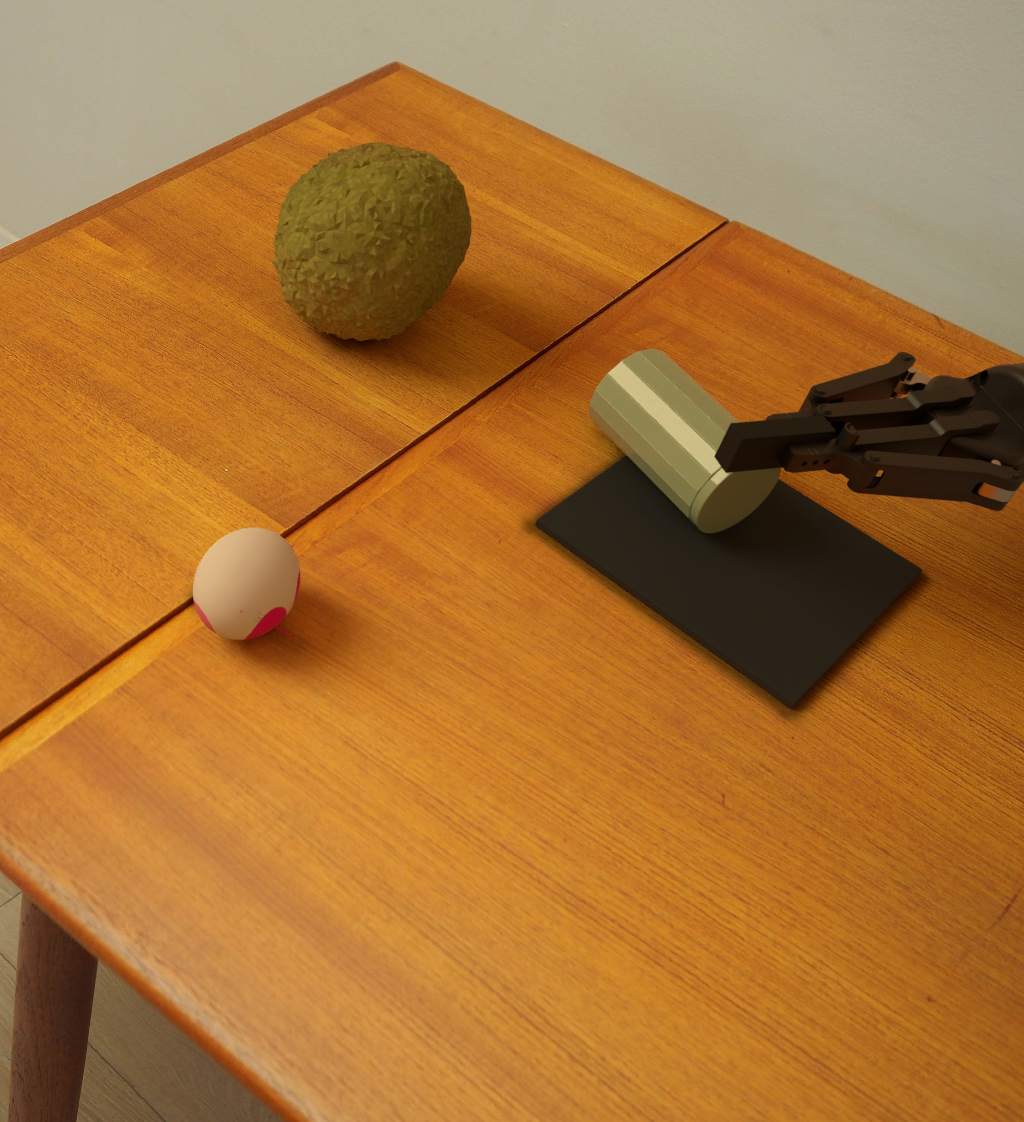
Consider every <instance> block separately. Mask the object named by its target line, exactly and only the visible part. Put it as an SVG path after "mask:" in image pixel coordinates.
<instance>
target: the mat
mask: <svg viewBox="0 0 1024 1122" xmlns="http://www.w3.org/2000/svg"><path fill="white" fill-rule="evenodd" d="M534 525H535V527H537V528H538V529H540V531H542V532H544V533H545V534H547V535H548V536H549V537H551V538H552V539H554V540H555V541H557V543H559V544H561V545H562V546H563V547H565V548H566V549H567V550H569V551H570V552H571V553H573V554H575V555H576V556H577V557H579V558H580V559H581V560H583V561H584V562H586V563H587V564H588V565H590V566H591V567H592V568H594V569H595V570H597V571H598V572H600V573H601V574H603V575H604V576H605V577H606V578H608V579H609V580H611V581H612V582H614V583H615V584H616V585H618V587H621V588H622V589H623V590H624V591H626V592H627V593H629V594H630V595H632V596H633V597H635V598H636V599H637V600H639V601H640V602H641V603H643V604H644V605H646V606H647V607H648V608H649V609H651V610H653V611H654V612H655V613H656V614H658V615H660V616H661V617H662V618H663V619H665V620H667V622H669V623H671V624H672V625H673V626H675V627H676V628H678V629H679V630H680V631H682V632H683V633H685V634H686V635H687V636H689V637H690V638H692V639H693V640H695V641H696V642H697V643H699V644H700V645H701V646H703V647H704V648H705V649H707V650H708V651H710V652H711V653H712V654H714V655H715V656H717V657H718V658H720V659H721V660H722V661H724V662H725V663H727V664H728V665H729V666H731V667H732V668H734V669H735V670H736V671H737V672H739V673H741V675H743V676H745V677H746V678H748V679H749V680H750V681H751V682H753V683H755V684H756V685H757V686H759V687H760V688H761V689H763V690H764V691H765V692H766V693H768V694H770V695H771V696H772V697H774V698H776V699H777V700H778V701H779V702H781V703H782V704H784V705H785V706H787V707H788V708H789V709H793V708H794V707H795V706H796V705H797V704H798V703H799V702H800V700H802V699H803V698H804V696H805V695H806V694H808V692H809V691H810V690H811V689H812V688H813V687H814V686H815V685H816V684H817V683H818V682H819V681H820V680H821V679H822V677H824V676H825V674H826V673H827V672H828V671H830V669H831V668H832V667H833V666H834V665H835V664H836V663H837V662H838V661H839V660H840V659H841V658H842V656H844V655H845V653H846V652H847V651H848V650H849V649H851V647H852V646H853V645H855V643H856V642H857V641H858V640H859V639H860V638H861V637H862V636H863V635H864V634H865V632H866V631H867V630H868V629H869V628H870V627H871V626H873V624H874V623H875V622H876V621H877V620H878V619H879V618H880V617H881V616H882V615H883V614H884V613H885V612H886V611H887V609H889V607H891V605H892V604H893V603H894V602H896V600H897V599H898V598H899V597H900V596H901V594H903V593H904V592H905V591H906V589H907V588H908V587H910V585H911V584H912V583H913V582H914V581H915V580H916V579H917V578H918V577H919V576H920V575H921V573H922V572H923V569H922V568H921V567H919V566H918V565H917V564H915V563H913V562H911V561H910V560H908V559H907V558H905V557H904V556H901V555H900V554H899V553H897V552H896V551H894V550H892V549H891V548H889V547H887V546H886V545H885V544H883V543H881V542H880V541H878V540H876V539H875V538H874V537H872V536H870V535H868V534H867V533H866V532H864V531H862V530H860V529H859V528H857V527H856V526H854V525H853V524H851V523H850V522H848V521H847V520H845V519H843V518H841V517H840V516H838V514H837V515H836V514H835V513H834V512H832V511H831V510H829V509H827V508H825V507H824V506H823V505H821V504H819V503H818V502H817V501H814V500H813V499H811V498H809V497H808V496H807V495H805V494H804V493H802V492H801V491H799V490H797V489H795V488H794V487H793V486H791V485H790V484H788V483H786V482H784V481H783V480H781V479H780V478H779V479H778V481H777V483H776V485H775V486H774V488H773V490H772V491H771V492H770V494H769V495H768V496H767V497H766V499H765V500H764V501H763V502H762V503H761V504H760V505H759V506H758V507H757V508H756V509H755V510H754V511H753V512H752V513H750V514H749V515H748V516H747V517H745V518H744V519H743V520H741V521H740V522H738V523H737V524H735V525H733V526H731V527H730V528H727V529H725V530H723V531H720V532H716V533H704V532H701V531H700V530H699V529H698V528H697V527H696V526H695V525H694V524H692V523H691V522H690V521H689V520H688V519H687V518H686V517H685V516H684V514H683V513H682V512H681V511H680V510H679V509H678V508H677V507H676V506H675V505H674V504H673V503H672V502H671V501H670V500H669V499H668V498H667V497H666V496H665V495H664V494H663V493H662V492H661V491H660V490H659V489H658V488H657V487H656V486H655V485H654V484H653V483H652V482H651V481H650V480H649V479H648V478H647V477H646V476H645V475H644V473H643V472H642V471H641V470H640V469H639V468H638V467H637V466H636V465H635V464H634V463H633V462H632V461H631V460H630V459H629V458H628V457H627V456H626V455H624V456H623V457H622V458H620V459H619V460H617V461H616V462H615V463H613V464H612V465H611V466H609V467H608V468H607V469H605V470H603V471H602V472H600V473H599V474H598V475H596V476H595V477H593V478H592V479H591V480H590V481H588V482H586V483H585V484H584V485H583V486H581V487H580V488H579V489H577V490H576V491H574V492H573V493H572V494H571V495H569V496H567V497H566V498H565V499H563V500H562V501H560V502H559V503H558V504H557V505H555V506H554V507H552V508H551V509H549V510H547V512H545V513H544V514H543V515H541V516H540V517H538V518H537V519H536V521H535V523H534Z"/></svg>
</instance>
